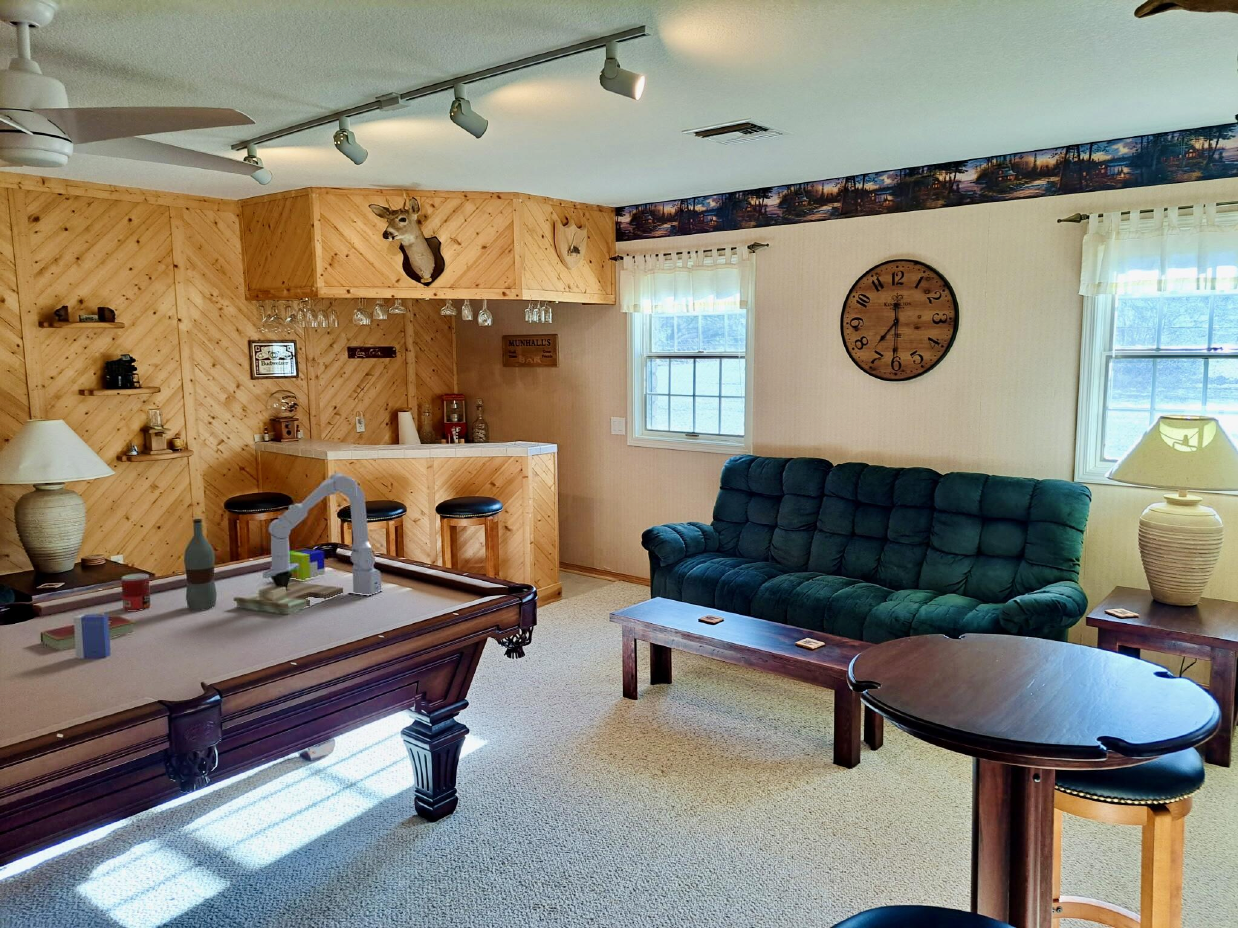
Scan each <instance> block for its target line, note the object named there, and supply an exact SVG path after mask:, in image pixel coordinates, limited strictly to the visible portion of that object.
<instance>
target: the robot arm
mask: <svg viewBox="0 0 1238 928" xmlns="http://www.w3.org/2000/svg"><path fill="white" fill-rule="evenodd" d="M337 493H340V494H342V495H343V496H345V497H347V499H349V506H350V516H351V528H352V538H353V539H352V540H353V543H352V546H351V553H350V561H351V562H352V563H353V565H352V591H353V592H355V593H362V594H373V593H375V592H378V591H379V590H382V574H381V571H380V570H378V569H376V568H375V567H374V565H375V564H376V563H375V562H376V558H375V557H376V556H375V555H374V554H373V550H372V546H371V545H370V542H369V533H368V519H367V509H366V497H365V492H364V490H363V489H362V488H361V487H360V485H359V484H358V483H357V481H356V479H354V478H352V477H350V476H348V475H345V474H342V473H341V472H335V473H333V474H331V475H330V476H329V477H328V478H326V479H325V480H324V481H322V482H321V484H320V485H318V486H317V487H316V488H315V489H314V490H313V491H312V492H311V493H310V494H309V495H308V496H307V497H306V498H305V499H304V500H302V502H301V503H294V504H290V505H289V506H288V509H287V510H286V511H284V512H283V514H281V515H278V516H277V518H278V519H273V521H271V523H270V524H269V526H268V532H269V534H270V541H271V542H270V550H271V551H270V555H271V556H270V557H271V566H270V569H268V570H265V571H263V572H262V578H263V579H271V580H272V581H273V583H274V586H278V587H286V590H287V586H288V584H289V583H290V580H291V579H290V578H291V577H292V573H289V571H292V570H297V569H299V565H298V564H297V563H293V564H290V554H289V552H290V541H289V540H290V539H289V536H290V534H291V532H292V530H293V529H294V528H295V527H296V526H297V525H298V524H300V523H301V522H302V521H303V520H304V519H305V518H306V517H308V511H309V510H310V509H312V508H313V507H315V505H316V504H318V503H319V502H320V501H322V499H324V498H325V497H326V496H333V495H337Z"/></svg>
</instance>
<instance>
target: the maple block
mask: <svg viewBox="0 0 1238 928" xmlns="http://www.w3.org/2000/svg"><path fill="white" fill-rule="evenodd" d="M258 593H259V600H265V601H272V602H279V601H282V600H285V599H286V587H278V586H276V585H270V586H267V587H264V588H261V589H258Z"/></svg>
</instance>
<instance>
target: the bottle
mask: <svg viewBox="0 0 1238 928" xmlns="http://www.w3.org/2000/svg"><path fill="white" fill-rule="evenodd" d="M192 522H193V536H192V538H191V540H190V541H189V542H188V545H187V546H186V547H185V550H184V554H183V555H184V556H183V557H184V558H183V563H184V569H185V574H186V575H185V576H186V583H187V584H186V591H185V592H186V594H185V600H186V604H187V608H188V610H189V609H191V610H190V611H194V610H200V611H203V610H202V609H208V610H210V608H211V609H213V608H212V607H214V606H215V607H216V603H217V596H218V595H217V589H216V584H215V564H216V563H215V562H216V557H215V551H214V548H213V546H212V545H211V542H209V541H208V539H207V538H206V537H205V536H204V534H203V519H202V518H194V519H192ZM215 607H214V608H215Z"/></svg>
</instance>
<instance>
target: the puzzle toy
mask: <svg viewBox="0 0 1238 928" xmlns="http://www.w3.org/2000/svg"><path fill="white" fill-rule="evenodd" d="M289 554H290V564H293V563H297V564H298V565H299V569H297V570H292V571H289V573H292V577H291V578H296V579H301V580H305V579H306V578H311V577H316V576H318V575H323V574H325V573H326V571H325V570H326V568H325V551H324V550H319V549H313V548H308V547H307V548H303V549H302V548H301V549H297V550H293V551H289ZM325 575H326V574H325Z"/></svg>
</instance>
